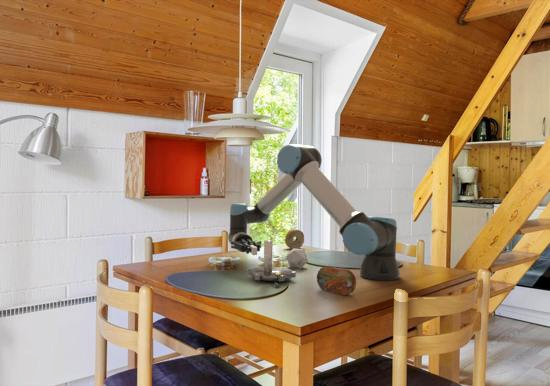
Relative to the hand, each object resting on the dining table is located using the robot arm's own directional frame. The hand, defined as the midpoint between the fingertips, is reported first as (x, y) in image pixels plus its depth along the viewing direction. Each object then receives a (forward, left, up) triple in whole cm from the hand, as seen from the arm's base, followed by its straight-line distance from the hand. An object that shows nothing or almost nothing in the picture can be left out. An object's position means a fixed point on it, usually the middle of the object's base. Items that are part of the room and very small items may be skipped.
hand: (255, 251), depth 182 cm
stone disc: (+38, -61, -10) cm, 72 cm away
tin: (-34, -6, -10) cm, 36 cm away
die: (+3, -26, -10) cm, 28 cm away
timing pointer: (-16, +4, -10) cm, 19 cm away
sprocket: (-7, -2, -8) cm, 11 cm away
